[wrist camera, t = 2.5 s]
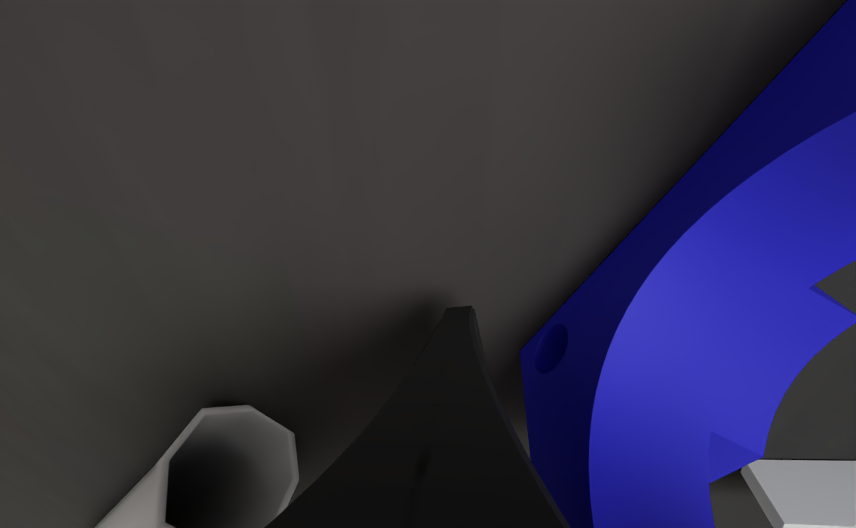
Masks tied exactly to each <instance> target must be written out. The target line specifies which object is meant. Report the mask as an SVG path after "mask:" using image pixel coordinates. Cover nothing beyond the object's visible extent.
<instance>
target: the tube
mask: <svg viewBox="0 0 856 528" xmlns="http://www.w3.org/2000/svg"><path fill="white" fill-rule="evenodd" d="M298 482H299V470H298V461H297V452H296V443H295V434H294V433H293V432H291V431H290V430H288V429H286V428H285V427H283V426H282V425H280V424H278V423H277V422H275V421H274V420H272V419H270V418H269V417H267V416H266V415H264V414H262V413H261V412H259V411H258V410H256V409H254V408H253V407H251V406H250V405H237V406H225V407H212V408H201V410H200V411H199V412H198V413H197V414H196V416H195V417H194V418H193V419H192V420H191V422H190V423H189V424H188V425H187V427H186V428H185V429H184V430H183V431H182V433H181V434H180V435H179V436H178V438H177V439H176V440H175V441H174V442H173V444H172V445H171V446H170V447H169V449H168V450H167V451H166V452H165V454H164V455H163V456H162V457H161V458H160V460H159V461H158V462H157V463H156V464H155V466H154V467H153V468H152V469H151V470H150V471H149V472H148V473H147V474H146V475H145V476H144V477H143V478H142V479H141V480H140V481H139V482H138V483H137V484H136V485H135V486H134V487H133V488H132V489H131V490H130V491H129V492H128V493H127V494H126V495H125V496H124V498H123V499H122V500H121V501H120V502H119V503H118V504H117V505H116V506H115V507H114V508H113V509H112V510H111V511H110V512H109V513H108V514H107V515H106V516H105V517H104V518H103V519H102V520H101V521H100V522H99V523H98V524H97V525H96V526H95V527H94V528H264V527H265V526H267V525H268V524H269V523H270V522H271V521H272V520H273V519H275V518H276V517H277V516H278V515H279V514H280V513H281V512H282V511H283V510H285V509H286V508H287V506H288V504H289V501H290V499H291V497H292V495H293V493H294V490H295V488H296V486H297V484H298Z"/></svg>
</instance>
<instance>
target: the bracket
mask: <svg viewBox="0 0 856 528" xmlns="http://www.w3.org/2000/svg"><path fill="white" fill-rule="evenodd" d="M740 473H741V474H742V476H743V478H744V479H745V481H746V483H747V484H748V486H749V488H750V489H751V491H752V493H753V495H754V496H755V498H756V500H757V501H758V503H759V505H760V506H761V508H762V510H763V511H764V513H765V515H766V516H767V518H768V520H769V521H770V523H771V525H772V526H773V528H856V461H825V460H756V461H754V462H752V463H750V464H748V465H746V466H744V467H742V469H741V472H740Z"/></svg>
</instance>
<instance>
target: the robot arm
mask: <svg viewBox="0 0 856 528" xmlns="http://www.w3.org/2000/svg"><path fill="white" fill-rule="evenodd" d="M264 528H571V527H570V525H569V524H568V522H567V521H566V519H565V518H564V516H563V514H562V513H561V511H560V509H559V508H558V506H557V504H556V503H555V501H554V499H553V498H552V496H551V494H550V493H549V491H548V489H547V488H546V486H545V484H544V483H543V481H542V479H541V478H540V476H539V474H538V473H537V471H536V469H535V468H534V466H533V464H532V462H531V461H530V459H529V457H528V455H527V453H526V452H525V450H524V448H523V446H522V444H521V442H520V440H519V439H518V437H517V435H516V433H515V431H514V429H513V427H512V425H511V423H510V421H509V419H508V417H507V415H506V413H505V411H504V409H503V407H502V404H501V402H500V400H499V398H498V396H497V393H496V391H495V388H494V386H493V384H492V381H491V379H490V376H489V374H488V371H487V369H486V366H485V358H484V353H483V348H482V343H481V338H480V333H479V328H478V324H477V319H476V314H475V309H473V308H472V306H464V307H454V308H446V310H445V313H444V315H443V317H442V319H441V321H440V323H439V324H438V326H437V328H436V330H435V331H434V333H433V335H432V336H431V338H430V340H429V341H428V343H427V345H426V346H425V348H424V350H423V351H422V353H421V354H420V356H419V357H418V359H417V360H416V362H415V364H414V365H413V367H412V368H411V370H410V371H409V373H408V374H407V375H406V377H405V378H404V379H403V381H402V382H401V384H400V385H399V386H398V388H397V389H396V390H395V392H394V393H393V395H392V396H391V397H390V399H389V400H388V401H387V403H386V404H385V405H384V406H383V408H382V409H381V410H380V411H379V413H378V414H377V415H376V416H375V417H374V419H373V420H372V421H371V422H370V423H369V425H368V426H367V427H366V428H365V429H364V430H363V432H362V433H361V434H360V435H359V436H358V437H357V438H356V439H355V440H354V442H353V443H352V444H351V445H350V446H349V447H348V448H347V449H346V450H345V451H344V452H343V453H342V454H341V455H340V457H339V458H338V459H337V460H336V461H335V462H334V463H333V464H332V465H331V466H330V467H329V468H328V469H327V470H326V471H325V472H324V473H323V474H322V475H321V476H320V477H319V478H318V479H317V480H316V481H315V482H314V483H313V484H312V485H310V486H309V487H308V488H307V489H306V490H305V491H304V492H303V493H302V494H301V495H300V496H299V497H298V498H296V499H295V500H294V501H293V502H292V503H291V504H290V505H289V506H288V507H287V508H286V509H285V510H283V511H282V512H281V513H280V514H279V515H278V516H277V517H276V518H275V519H273V520H272V521H271V522H270V523H269V524H268V525H267V526H265V527H264Z"/></svg>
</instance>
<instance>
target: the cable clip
mask: <svg viewBox="0 0 856 528" xmlns="http://www.w3.org/2000/svg"><path fill="white" fill-rule="evenodd" d="M855 260H856V0H848V1H847V2H846V3H845V4H844V5H843V6H842V7H841V8H840V9H839V10H838V11H837V12H836V13H835V14H834V16H833V17H832V18H831V19H830V20H829V21H828V22H827V23H826V24H825V25H824V26H823V27H822V28H821V29H820V31H819V32H818V33H817V34H816V35H815V36H814V37H813V38H812V39H811V40H810V41H809V42H808V43H807V44H806V45H805V47H804V48H803V49H802V50H801V51H800V52H799V53H798V54H797V55H796V56H795V57H794V58H793V59H792V60H791V62H790V63H789V64H788V65H787V66H786V67H785V68H784V69H783V70H782V71H781V72H780V73H779V74H778V75H777V77H776V78H775V79H774V80H773V81H772V82H771V83H770V84H769V85H768V86H767V87H766V88H765V89H764V90H763V91H762V93H761V94H760V95H759V96H758V97H757V98H756V99H755V100H754V101H753V102H752V103H751V104H750V105H749V106H748V108H747V109H746V110H745V111H744V112H743V113H742V114H741V115H740V116H739V117H738V118H737V119H736V120H735V121H734V123H733V124H732V125H731V126H730V127H729V128H728V129H727V130H726V131H725V132H724V133H723V134H722V135H721V136H720V137H719V139H718V140H717V141H716V142H715V143H714V144H713V145H712V146H711V147H710V148H709V149H708V150H707V151H706V152H705V154H704V155H703V156H702V157H701V158H700V159H699V160H698V161H697V162H696V163H695V164H694V165H693V166H692V167H691V169H690V170H689V171H688V172H687V173H686V174H685V175H684V176H683V177H682V178H681V179H680V180H679V181H678V182H677V183H676V185H675V186H674V187H673V188H672V189H671V190H670V191H669V192H668V193H667V194H666V195H665V196H664V197H663V198H662V200H661V201H660V202H659V203H658V204H657V205H656V206H655V207H654V208H653V209H652V210H651V211H650V212H649V213H648V215H647V216H646V217H645V218H644V219H643V220H642V221H641V222H640V223H639V224H638V225H637V226H636V227H635V228H634V229H633V231H632V232H631V233H630V234H629V235H628V236H627V237H626V238H625V239H624V240H623V241H622V242H621V243H620V244H619V246H618V247H617V248H616V249H615V250H614V251H613V252H612V253H611V254H610V255H609V256H608V257H607V258H606V259H605V261H604V262H603V263H602V264H601V265H600V266H599V267H598V268H597V269H596V270H595V271H594V272H593V273H592V274H591V275H590V277H589V278H588V279H587V280H586V281H585V282H584V283H583V284H582V285H581V286H580V287H579V288H578V289H577V290H576V292H575V293H574V294H573V295H572V296H571V297H570V298H569V299H568V300H567V301H566V302H565V303H564V304H563V305H562V307H561V308H560V309H559V310H558V311H557V312H556V313H555V314H554V315H553V316H552V317H551V318H550V319H549V320H548V321H547V323H546V324H545V325H544V326H543V327H542V328H541V329H540V330H539V331H538V332H537V333H536V334H535V335H534V336H533V338H532V339H531V340H530V341H529V342H528V343H527V344H526V345H525V346H524V347H523V348H522V349H521V350H520V358H521V368H522V378H523V388H524V398H525V408H526V418H527V428H528V438H529V448H530V458H531V462H532V464H533V466H534V468H535V469H536V471H537V473H538V474H539V476H540V478H541V479H542V481H543V483H544V484H545V486H546V488H547V489H548V491H549V493H550V494H551V496H552V498H553V499H554V501H555V503H556V504H557V506H558V508H559V509H560V511H561V513H562V514H563V516H564V518H565V519H566V521H567V522H568V524H569V525H570V527H571V528H715V526H714V520H713V514H712V507H711V501H710V491H709V483H711V482H713V481H715V480H717V479H719V478H721V477H723V476H725V475H727V474H730V473H732V472H734V471H736V470H738V469H740V468H742V467H744V466H746V465H748V464H750V463H752V462H754V461H756V460H758V459H760V458H762V457H764V450H765V446H766V441H767V437H768V432H769V429H770V426H771V423H772V420H773V418H774V415H775V412H776V410H777V408H778V406H779V404H780V402H781V400H782V398H783V396H784V394H785V392H786V391H787V389H788V388H789V386H790V385H791V383H792V382H793V380H794V379H795V377H796V376H797V375H798V373H799V372H800V371H801V370H802V369H803V368H804V366H805V365H806V364H807V363H808V362H809V361H810V360H811V358H812V357H813V356H815V355H816V354H817V353H818V352H819V351H820V350H821V349H822V348H823V347H824V346H825V345H827V344H828V343H829V342H830V341H831V340H833V339H834V338H835V337H837V336H838V335H839V334H841V333H842V332H843V331H845V330H846V329H847V328H849V327H850V326H852V325H853V324H855V323H856V315H855V314H854V313H853V312H851V311H850V310H848V309H847V308H846V307H844V306H843V305H842V304H840V303H839V302H837V301H836V300H835V299H833V298H832V297H830V296H829V295H828V294H826V293H825V292H823V291H822V290H821V289H819V288H818V287H816V286H815V285H814V284H816V283H817V282H819V281H820V280H822V279H824V278H825V277H827V276H829V275H830V274H832V273H834V272H835V271H837V270H839V269H840V268H842V267H844V266H845V265H847V264H849V263H851V262H853V261H855Z"/></svg>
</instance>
